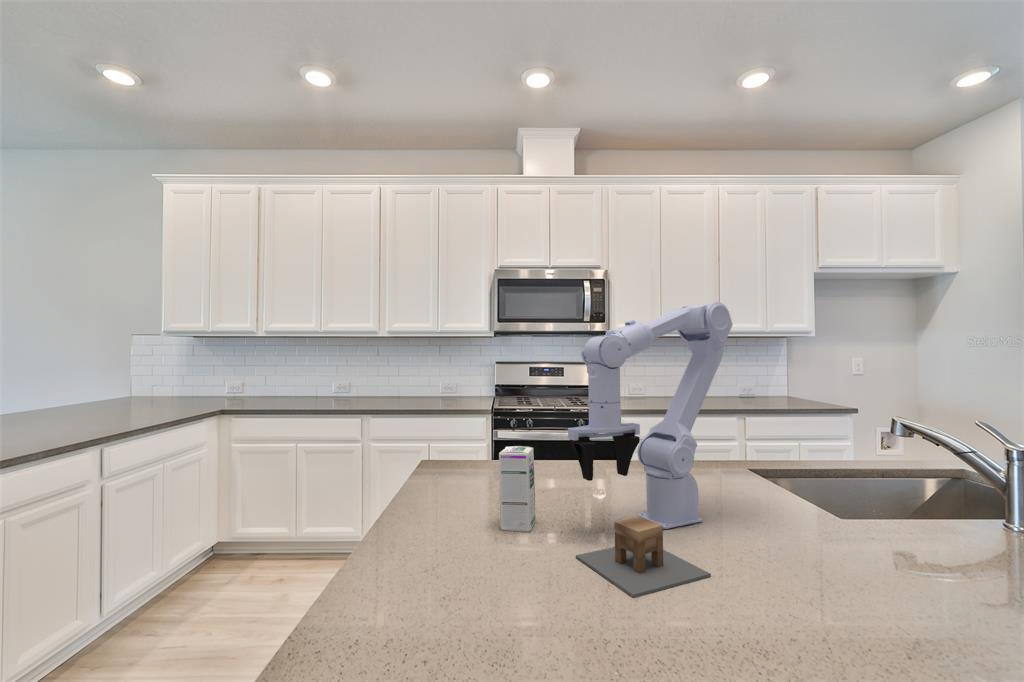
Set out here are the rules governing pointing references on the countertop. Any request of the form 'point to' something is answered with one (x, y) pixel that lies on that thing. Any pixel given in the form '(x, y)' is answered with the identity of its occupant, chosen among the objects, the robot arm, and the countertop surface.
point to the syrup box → (517, 488)
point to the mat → (644, 583)
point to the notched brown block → (639, 542)
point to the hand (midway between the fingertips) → (605, 477)
